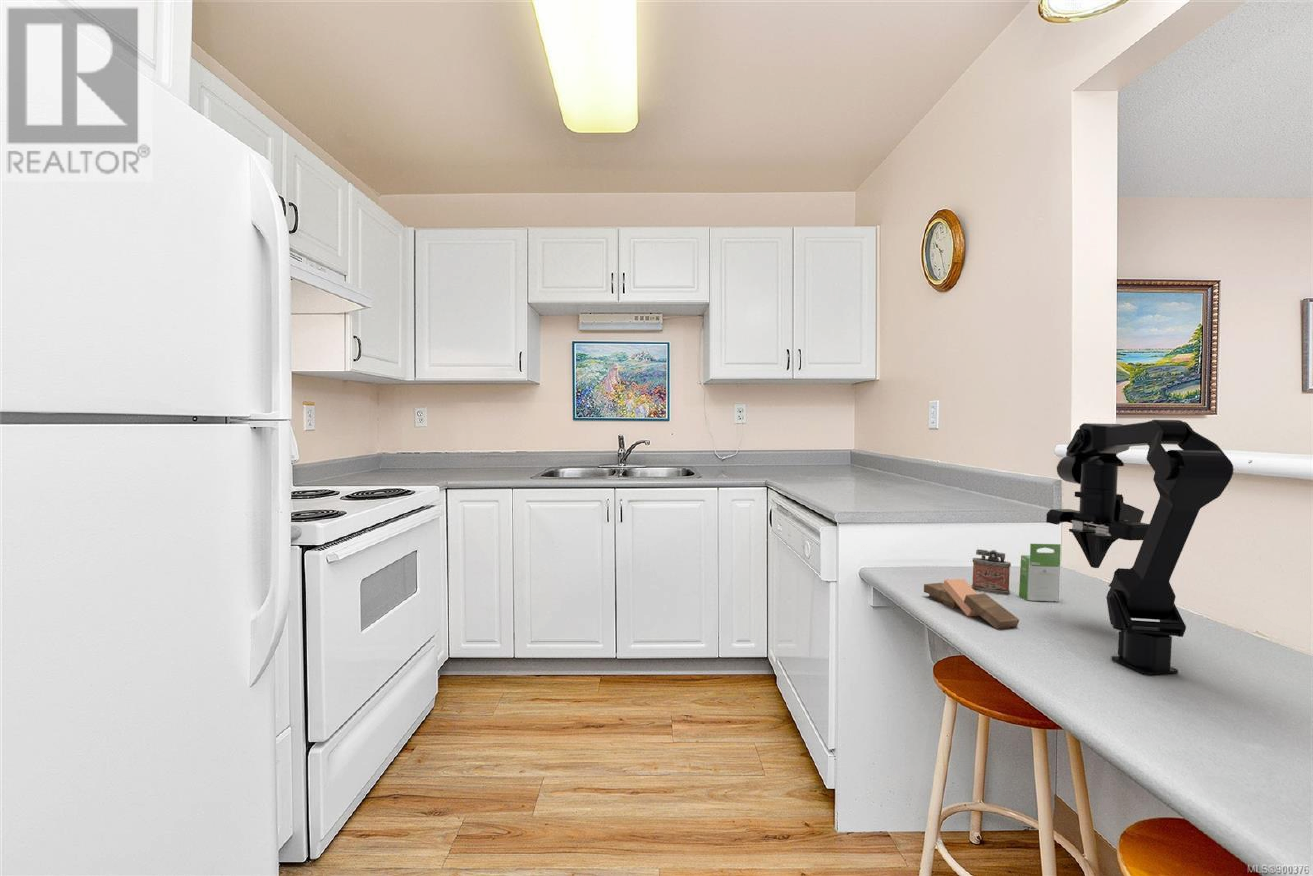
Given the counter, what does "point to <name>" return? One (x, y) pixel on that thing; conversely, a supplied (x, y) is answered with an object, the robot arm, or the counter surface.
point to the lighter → (991, 572)
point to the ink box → (1040, 574)
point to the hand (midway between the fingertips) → (1094, 567)
